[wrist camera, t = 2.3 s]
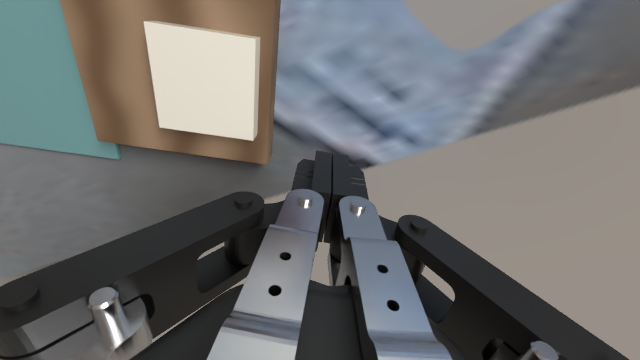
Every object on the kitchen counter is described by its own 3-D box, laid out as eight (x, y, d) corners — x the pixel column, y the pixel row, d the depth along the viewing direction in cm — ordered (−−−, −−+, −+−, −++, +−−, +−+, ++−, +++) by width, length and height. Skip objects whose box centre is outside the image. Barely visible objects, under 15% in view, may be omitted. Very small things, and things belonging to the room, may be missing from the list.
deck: (115, 131, 29) (97, 140, 27) (75, -39, 22) (47, -44, 20) (271, 153, 30) (266, 164, 28) (280, -5, 23) (275, -7, 21)
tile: (168, 121, 26) (159, 127, 24) (155, 20, 22) (143, 21, 20) (257, 134, 26) (253, 140, 25) (260, 37, 22) (255, 38, 21)
